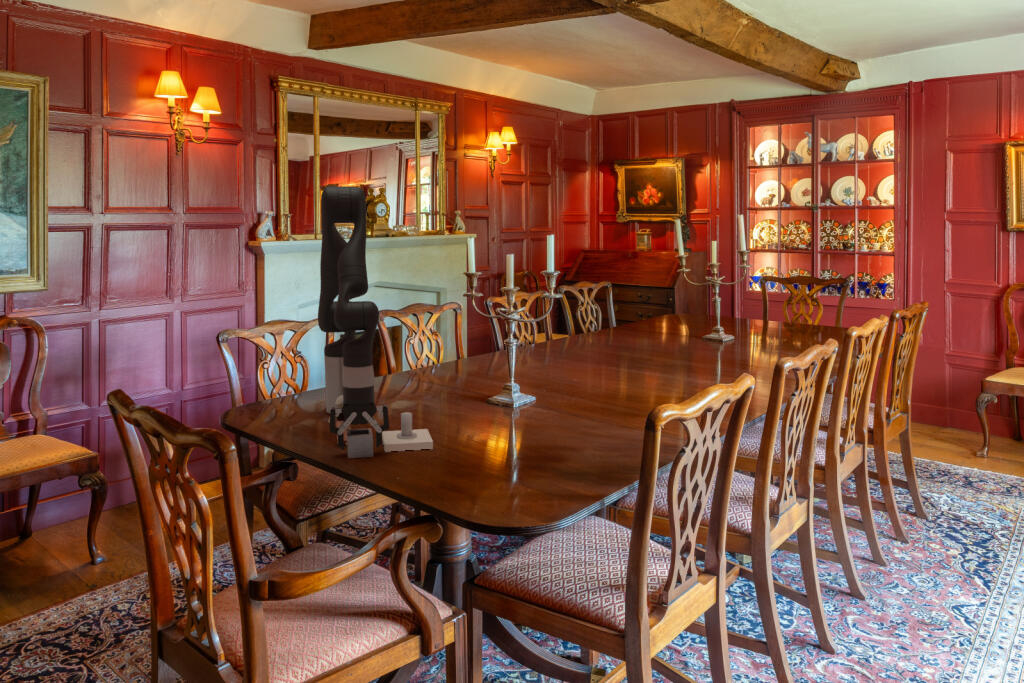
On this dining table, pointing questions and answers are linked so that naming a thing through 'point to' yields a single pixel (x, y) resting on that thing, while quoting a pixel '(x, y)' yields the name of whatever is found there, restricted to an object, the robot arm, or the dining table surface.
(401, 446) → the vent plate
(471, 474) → the dining table surface
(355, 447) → the collar
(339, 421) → the grandmother figurine
